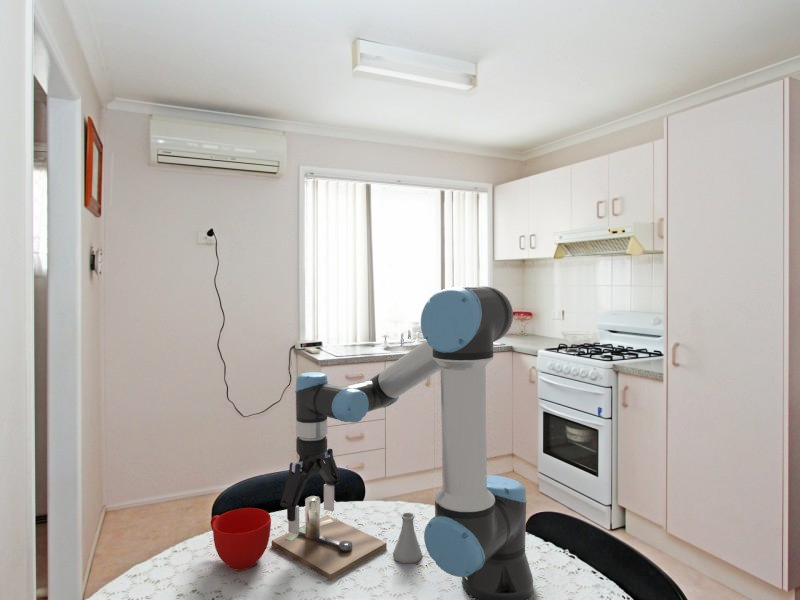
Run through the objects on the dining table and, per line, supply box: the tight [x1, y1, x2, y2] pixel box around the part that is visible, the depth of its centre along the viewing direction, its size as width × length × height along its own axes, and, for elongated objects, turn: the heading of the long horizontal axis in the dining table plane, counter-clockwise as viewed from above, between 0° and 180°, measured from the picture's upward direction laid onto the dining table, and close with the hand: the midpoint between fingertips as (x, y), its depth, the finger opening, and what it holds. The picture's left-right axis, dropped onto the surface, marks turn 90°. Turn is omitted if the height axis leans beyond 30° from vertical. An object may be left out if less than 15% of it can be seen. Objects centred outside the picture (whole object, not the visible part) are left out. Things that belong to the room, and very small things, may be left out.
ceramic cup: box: [210, 507, 272, 571], centre depth 122 cm, size 13×17×10 cm
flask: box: [392, 511, 424, 564], centre depth 124 cm, size 7×7×10 cm
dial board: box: [271, 515, 387, 582], centre depth 128 cm, size 22×18×2 cm
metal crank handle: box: [298, 495, 352, 552], centre depth 127 cm, size 16×4×10 cm, turn 60°
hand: (312, 520), depth 128 cm, fingers open, 13 cm apart
